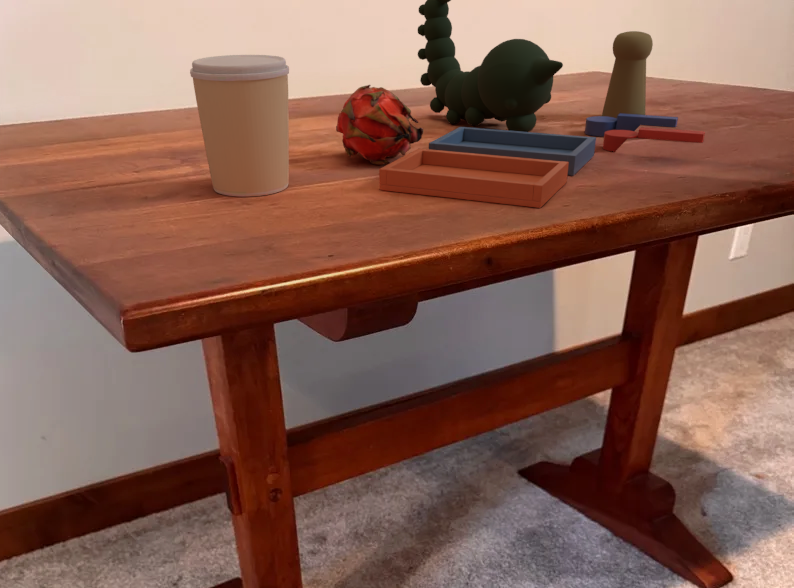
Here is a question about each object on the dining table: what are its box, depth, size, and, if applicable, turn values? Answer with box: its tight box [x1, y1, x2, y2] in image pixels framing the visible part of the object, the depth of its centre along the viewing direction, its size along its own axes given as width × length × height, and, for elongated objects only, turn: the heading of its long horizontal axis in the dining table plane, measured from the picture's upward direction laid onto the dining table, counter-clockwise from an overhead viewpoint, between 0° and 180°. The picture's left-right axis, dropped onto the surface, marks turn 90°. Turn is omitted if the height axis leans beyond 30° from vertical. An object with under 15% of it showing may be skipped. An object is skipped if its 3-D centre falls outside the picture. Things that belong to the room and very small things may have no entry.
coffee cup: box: [189, 54, 290, 198], centre depth 79 cm, size 9×9×12 cm
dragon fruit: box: [335, 84, 424, 166], centre depth 90 cm, size 8×8×12 cm
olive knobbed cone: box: [601, 30, 654, 119], centre depth 110 cm, size 6×6×11 cm
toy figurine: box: [417, 0, 564, 132], centre depth 103 cm, size 9×19×25 cm
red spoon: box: [602, 126, 706, 153], centre depth 94 cm, size 11×4×2 cm, turn 65°
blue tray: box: [428, 126, 597, 177], centre depth 91 cm, size 17×10×2 cm, turn 65°
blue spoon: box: [584, 113, 679, 138], centre depth 101 cm, size 11×4×2 cm, turn 65°
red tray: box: [378, 148, 569, 209], centre depth 81 cm, size 17×10×2 cm, turn 65°
